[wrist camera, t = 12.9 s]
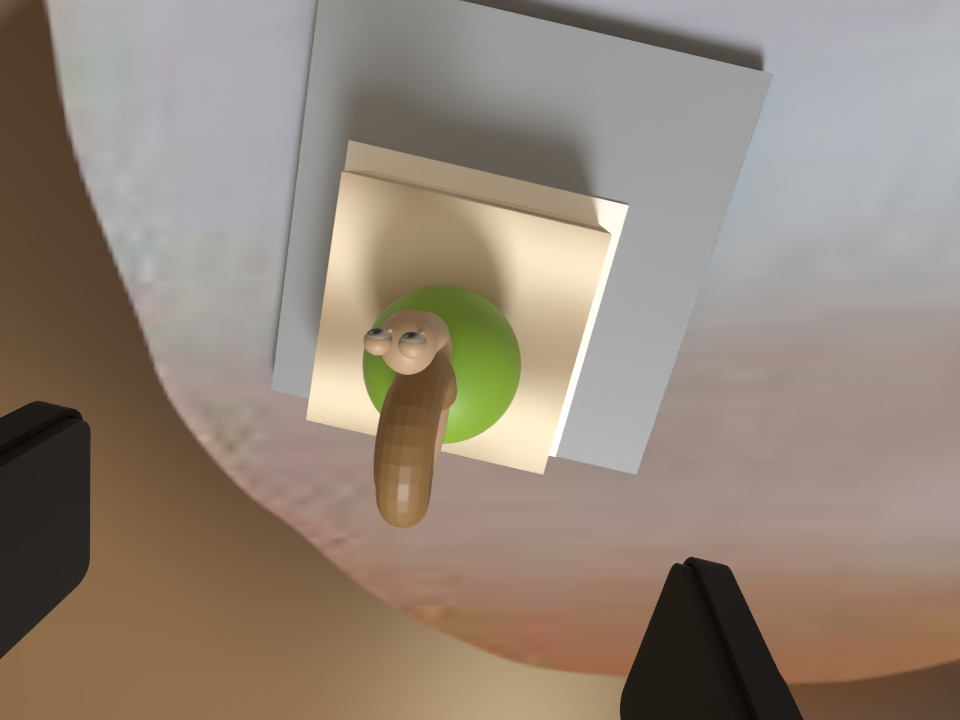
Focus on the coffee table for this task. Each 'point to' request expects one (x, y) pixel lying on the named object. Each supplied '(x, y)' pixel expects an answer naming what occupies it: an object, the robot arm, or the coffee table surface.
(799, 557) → the coffee table surface
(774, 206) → the coffee table surface
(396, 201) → the pedestal block
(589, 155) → the board
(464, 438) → the snail figurine
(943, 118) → the coffee table surface
